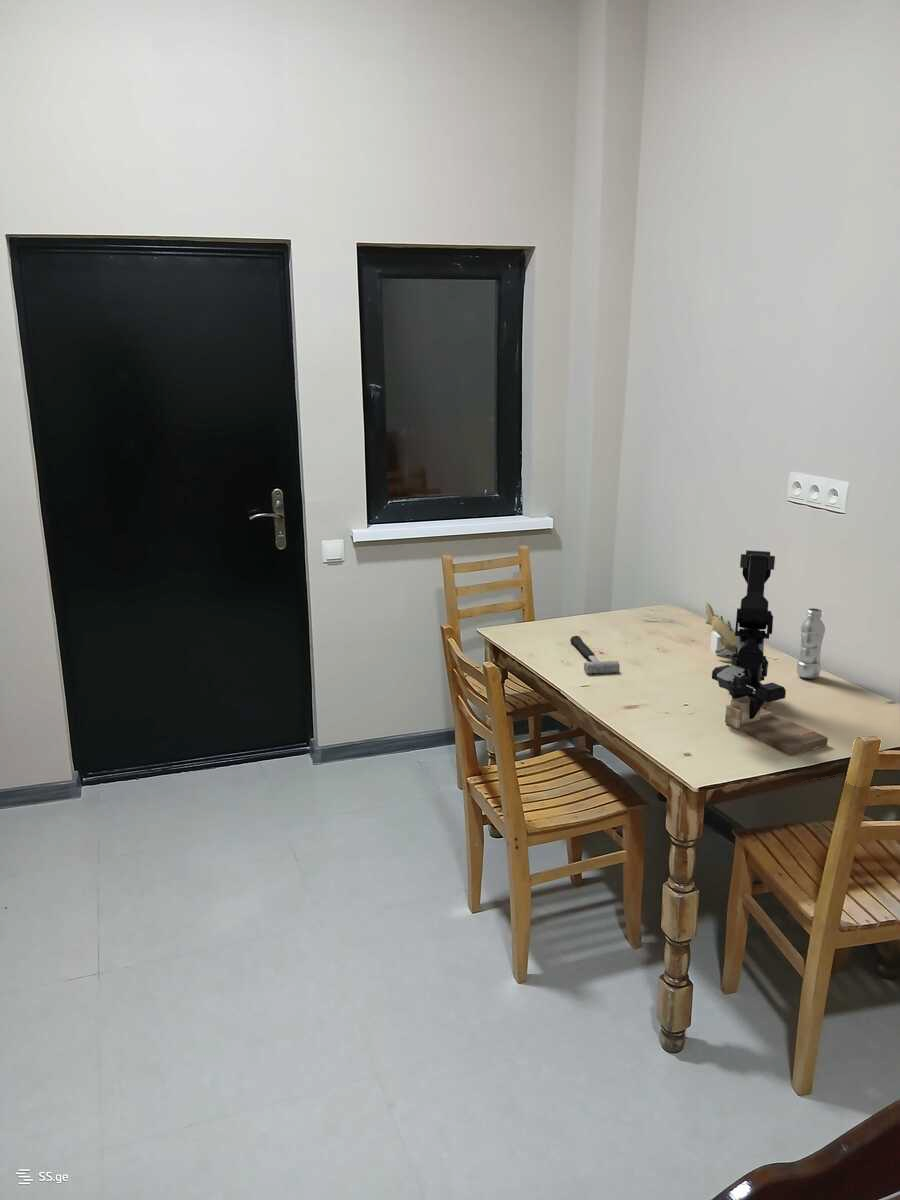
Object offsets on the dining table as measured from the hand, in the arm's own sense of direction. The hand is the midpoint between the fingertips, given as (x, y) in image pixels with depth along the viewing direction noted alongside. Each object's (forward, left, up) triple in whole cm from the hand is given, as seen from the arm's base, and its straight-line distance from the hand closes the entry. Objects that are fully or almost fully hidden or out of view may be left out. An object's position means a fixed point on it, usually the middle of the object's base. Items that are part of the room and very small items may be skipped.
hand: (744, 715), depth 205 cm
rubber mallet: (-61, -3, -4) cm, 61 cm away
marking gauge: (0, +2, -2) cm, 2 cm away
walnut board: (+7, +3, -3) cm, 8 cm away
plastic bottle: (-17, +42, -3) cm, 45 cm away
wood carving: (-47, +38, -3) cm, 60 cm away
